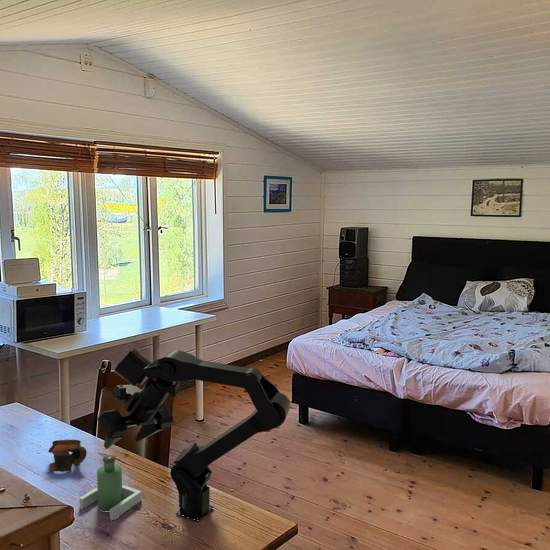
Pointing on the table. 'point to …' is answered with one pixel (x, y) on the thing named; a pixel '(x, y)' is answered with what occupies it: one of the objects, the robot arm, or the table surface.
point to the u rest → (131, 499)
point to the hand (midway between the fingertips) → (121, 444)
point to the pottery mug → (66, 455)
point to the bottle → (109, 484)
